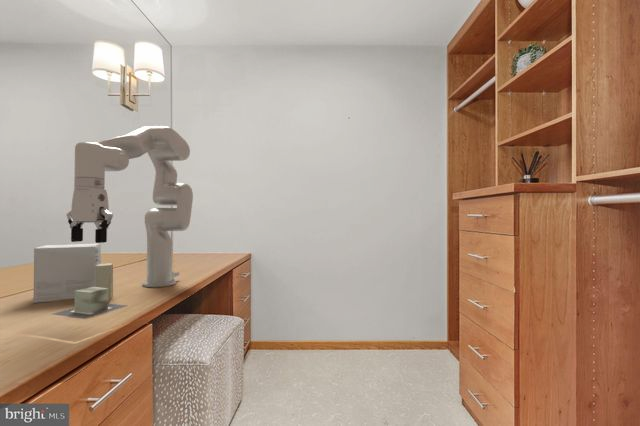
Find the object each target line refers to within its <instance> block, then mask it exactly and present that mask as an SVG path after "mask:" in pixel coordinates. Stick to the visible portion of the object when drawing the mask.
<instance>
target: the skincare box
mask: <svg viewBox="0 0 640 426" xmlns="http://www.w3.org/2000/svg"><path fill="white" fill-rule="evenodd" d="M96 287H101V288H108V302H109V301H111V300H112V299H113V298H114V263H110V262H109V263H101V264H98V265H97V266H96Z"/></svg>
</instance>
